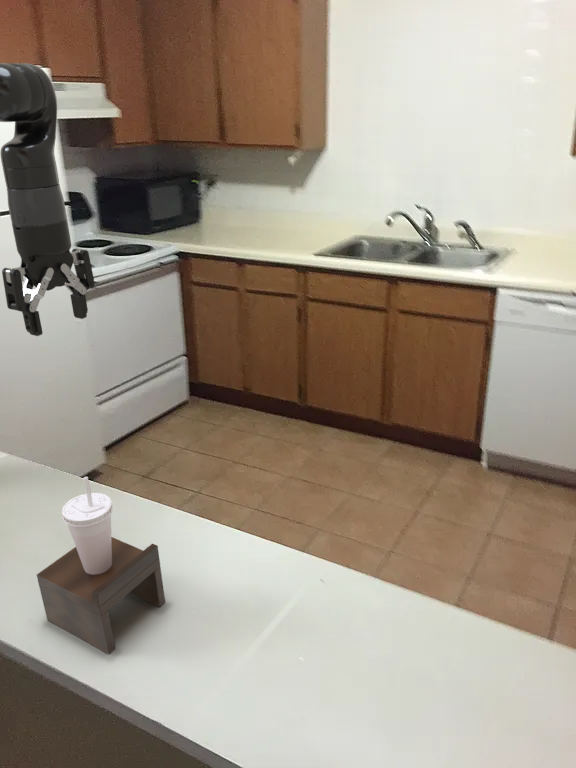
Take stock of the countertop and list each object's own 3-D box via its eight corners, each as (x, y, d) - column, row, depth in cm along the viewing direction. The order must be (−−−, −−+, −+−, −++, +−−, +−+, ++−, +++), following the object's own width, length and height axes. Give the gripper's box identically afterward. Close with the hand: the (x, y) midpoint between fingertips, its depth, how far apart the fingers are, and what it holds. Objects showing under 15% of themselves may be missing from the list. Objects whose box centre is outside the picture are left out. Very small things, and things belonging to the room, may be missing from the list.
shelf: (47, 620, 93) (33, 562, 88) (105, 573, 101) (95, 519, 97) (108, 654, 87) (97, 594, 83) (165, 602, 95) (157, 545, 91)
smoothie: (110, 583, 87) (94, 493, 81) (64, 579, 88) (45, 489, 82) (129, 552, 93) (115, 466, 87) (86, 548, 94) (69, 462, 88)
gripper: (61, 208, 102) (78, 309, 109) (-22, 225, 92) (3, 336, 98) (95, 211, 99) (110, 316, 105) (13, 230, 88) (37, 345, 95)
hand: (59, 325), depth 102 cm, fingers open, 8 cm apart
